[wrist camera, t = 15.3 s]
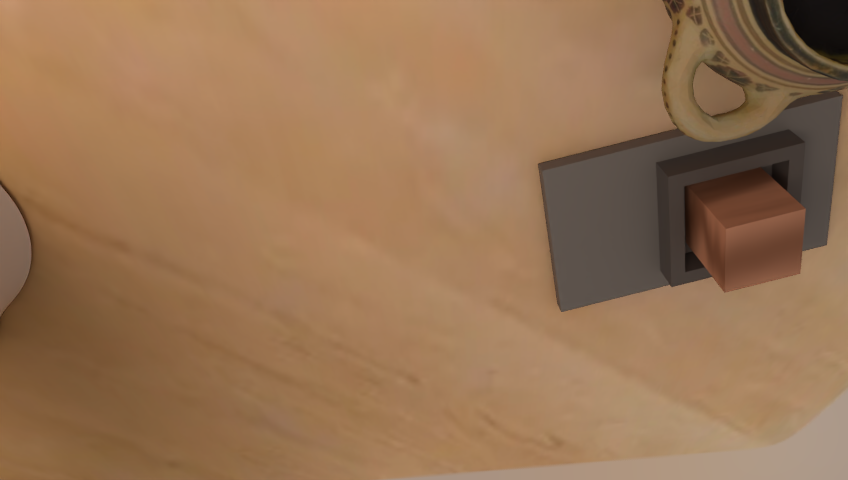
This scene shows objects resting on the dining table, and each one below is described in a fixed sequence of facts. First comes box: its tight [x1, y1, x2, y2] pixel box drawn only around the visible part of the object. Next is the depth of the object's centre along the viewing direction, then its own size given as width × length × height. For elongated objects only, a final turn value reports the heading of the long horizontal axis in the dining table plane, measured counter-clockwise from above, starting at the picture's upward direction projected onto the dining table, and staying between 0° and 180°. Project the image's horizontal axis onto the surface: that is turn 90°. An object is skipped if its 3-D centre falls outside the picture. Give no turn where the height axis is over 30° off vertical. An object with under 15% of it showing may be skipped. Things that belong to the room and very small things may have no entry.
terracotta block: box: [685, 167, 806, 292], centre depth 51 cm, size 5×5×6 cm
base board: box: [538, 91, 843, 312], centre depth 53 cm, size 20×12×3 cm, turn 102°
